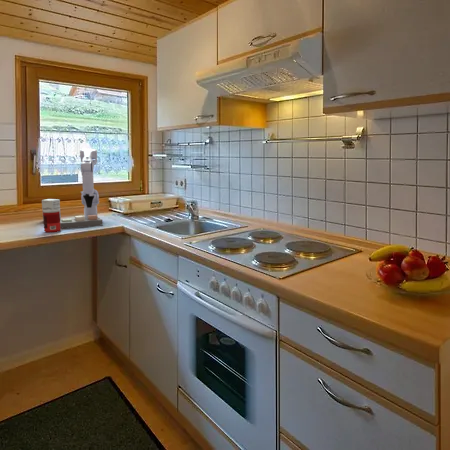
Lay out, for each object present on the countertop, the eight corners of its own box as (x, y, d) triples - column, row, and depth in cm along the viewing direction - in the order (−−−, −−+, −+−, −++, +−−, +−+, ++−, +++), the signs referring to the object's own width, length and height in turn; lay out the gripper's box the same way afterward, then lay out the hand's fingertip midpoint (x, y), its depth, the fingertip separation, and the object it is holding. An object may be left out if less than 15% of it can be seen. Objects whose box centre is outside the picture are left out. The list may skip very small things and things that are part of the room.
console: (57, 225, 222) (57, 220, 221) (97, 221, 233) (97, 216, 233) (61, 228, 212) (60, 223, 211) (102, 225, 223) (102, 219, 223)
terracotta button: (87, 220, 227) (87, 215, 226) (95, 219, 229) (95, 214, 228) (89, 221, 223) (89, 216, 222) (97, 220, 225) (97, 215, 225)
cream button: (75, 221, 223) (74, 216, 222) (83, 220, 225) (82, 215, 225) (76, 222, 219) (76, 217, 219) (84, 221, 222) (84, 216, 221)
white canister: (42, 221, 235) (41, 200, 233) (50, 219, 242) (49, 198, 240) (53, 221, 234) (51, 200, 231) (61, 219, 241) (59, 199, 238)
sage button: (62, 224, 220) (61, 219, 219) (70, 224, 222) (70, 218, 221) (63, 225, 216) (63, 220, 215) (71, 225, 218) (71, 219, 218)
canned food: (64, 230, 208) (62, 209, 206) (53, 233, 200) (51, 211, 198) (52, 229, 210) (50, 209, 208) (41, 232, 203) (39, 211, 201)
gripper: (77, 183, 227) (79, 206, 230) (83, 184, 215) (84, 209, 218) (90, 182, 231) (91, 205, 233) (96, 184, 219) (97, 208, 221)
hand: (89, 207), depth 226 cm, fingers closed
